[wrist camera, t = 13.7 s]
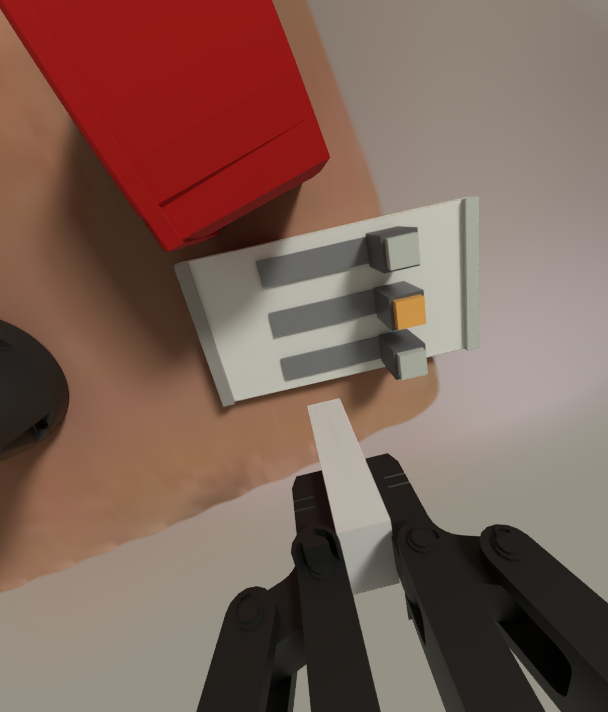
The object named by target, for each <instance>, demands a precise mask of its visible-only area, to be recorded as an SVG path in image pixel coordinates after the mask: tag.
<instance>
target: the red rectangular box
mask: <svg viewBox="0 0 608 712" xmlns="http://www.w3.org/2000/svg"><path fill="white" fill-rule="evenodd" d="M0 9H1V10H2V12H3V14H4V15H5V17H6V18H7V20H8V21H9V23H10V25H11V26H12V28H13V29H14V31H15V33H16V34H17V36H18V37H19V39H20V40H21V42H22V43H23V45H24V46H25V48H26V49H27V51H28V53H29V54H30V56H31V57H32V59H33V60H34V62H35V63H36V65H37V66H38V68H39V69H40V71H41V73H42V74H43V76H44V77H45V79H46V80H47V82H48V83H49V85H50V86H51V88H52V89H53V91H54V92H55V94H56V95H57V97H58V98H59V100H60V101H61V103H62V105H63V106H64V108H65V109H66V111H67V112H68V114H69V115H70V117H71V118H72V120H73V121H74V123H75V124H76V126H77V127H78V129H79V130H80V132H81V133H82V135H83V136H84V138H85V139H86V141H87V142H88V144H89V145H90V147H91V148H92V150H93V151H94V153H95V154H96V155H97V157H98V158H99V160H100V161H101V163H102V164H103V166H104V167H105V169H106V170H107V172H108V173H109V175H110V176H111V178H112V179H113V180H114V182H115V183H116V185H117V186H118V187H119V189H120V190H121V192H122V193H123V195H124V196H125V197H126V199H127V200H128V202H129V203H130V204H131V206H132V207H133V209H134V210H135V211H136V213H137V214H138V216H140V217H141V218H142V219H143V221H144V222H145V224H146V225H147V227H148V228H149V230H150V231H151V233H152V234H153V235H154V237H155V238H156V240H157V241H158V243H159V244H160V246H161V247H162V249H163V250H165V251H175V250H178V249H181V248H185V247H188V246H191V245H194V244H197V243H200V242H203V241H206V240H208V239H211V238H213V237H215V236H216V235H218V234H220V233H219V231H218V229H220V228H222V227H224V226H226V225H227V224H229V223H231V222H233V221H235V220H237V219H238V218H240V217H242V216H244V215H246V214H247V213H249V212H251V211H253V210H255V209H256V208H258V207H260V206H262V205H264V204H265V203H267V202H269V201H271V200H273V199H274V198H276V197H278V196H280V195H282V194H283V193H285V192H287V191H289V190H291V189H292V188H294V187H296V186H298V185H300V184H302V183H303V182H305V181H307V180H309V179H311V178H312V177H314V176H315V175H316V174H318V173H319V172H320V171H321V170H322V168H323V167H324V166H325V164H326V163H327V161H328V160H329V158H330V155H329V153H328V150H327V147H326V144H325V141H324V139H323V136H322V133H321V130H320V127H319V125H318V122H317V119H316V116H315V114H314V111H313V108H312V105H311V103H310V100H309V97H308V94H307V92H306V89H305V86H304V83H303V81H302V78H301V75H300V72H299V70H298V67H297V64H296V62H295V59H294V56H293V54H292V51H291V49H290V46H289V43H288V41H287V38H286V36H285V33H284V30H283V28H282V25H281V23H280V20H279V17H278V15H277V12H276V10H275V7H274V4H273V2H272V0H0Z"/></svg>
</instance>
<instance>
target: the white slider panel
mask: <svg viewBox="0 0 608 712" xmlns="http://www.w3.org/2000/svg"><path fill="white" fill-rule="evenodd" d="M173 267H174V270H175V272H176V275H177V278H178V281H179V284H180V287H181V289H182V292H183V295H184V298H185V301H186V303H187V306H188V309H189V312H190V315H191V317H192V320H193V323H194V326H195V329H196V331H197V334H198V337H199V340H200V343H201V345H202V348H203V351H204V354H205V357H206V359H207V362H208V365H209V368H210V371H211V373H212V376H213V379H214V382H215V385H216V387H217V390H218V393H219V396H220V399H221V401H222V404H223V407H225V406H229V405H233V404H235V401H239V400H243V399H248V398H252V397H256V396H261V395H265V394H269V393H274V392H278V391H282V390H287V389H291V388H296V387H300V386H304V385H309V384H313V383H317V382H322V381H326V380H330V379H335V378H339V377H343V376H348V375H352V374H356V373H361V372H365V371H370V370H374V369H378V368H383V367H387V369H388V370H389V371H390V373H391V374H392V375H393V376H394V378H395V379H396V380H398V379H402V380H405V379H409V378H414V377H418V376H422V375H427V374H428V371H427V357H430V356H435V355H439V354H444V353H448V352H452V351H456V350H461V349H466V350H467V351H468V350H473V349H477V348H479V196H474V197H465V198H460V199H455V200H451V201H447V202H442V203H438V204H433V205H429V206H425V207H420V208H416V209H411V210H407V211H403V212H398V213H394V214H390V215H385V216H381V217H376V218H372V219H367V220H363V221H359V222H354V223H350V224H346V225H341V226H337V227H332V228H328V229H324V230H319V231H315V232H310V233H306V234H302V235H297V236H293V237H288V238H284V239H280V240H275V241H271V242H266V243H262V244H258V245H253V246H249V247H245V248H240V249H236V250H231V251H227V252H223V253H218V254H214V255H209V256H205V257H201V258H196V259H192V260H187V261H183V262H180V263H177V264H175V265H173ZM401 281H405V282H407V283H410V284H412V285H414V286H416V287H418V288H420V289H423V290H424V297H425V312H426V324H423V325H419V326H414V327H410V328H406V329H401V330H396V331H391V330H390V329H389V328H388V327H387V326H386V325H385V324H384V323H383V322H382V321H381V320H379V319H378V318H377V313H376V305H375V297H374V289H373V288H375V287H379V286H383V285H388V284H392V283H397V282H401Z"/></svg>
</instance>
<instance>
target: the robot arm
mask: <svg viewBox="0 0 608 712" xmlns="http://www.w3.org/2000/svg"><path fill="white" fill-rule="evenodd" d="M68 399H69V394H68V386H67V382H66V379H65V376H64V374H63V372H62V370H61V368H60V366H59V364H58V363H57V361H56V360H55V358H54V357H53V356H52V355H51V353H50V352H49V351H48V350H47V349H46V348H45V347H44V346H43V345H42V344H41V343H39V342H38V341H37V340H36V339H35V338H33V337H32V336H31V335H29V334H28V333H26V332H24V331H23V330H21V329H19V328H17V327H16V326H14V325H11V324H9V323H7V322H4V321H2V320H0V461H2V460H5V459H7V458H9V457H11V456H14V455H16V454H18V453H20V452H22V451H25V450H27V449H29V448H31V447H33V446H34V445H36V444H37V443H39V442H40V441H42V440H43V439H44V438H45V437H46V436H47V435H48V434H49V433H50V432H51V431H52V430H53V429H55V428H56V427H57V425H58V424H59V423H60V422H61V420H62V419H63V417H64V415H65V413H66V410H67V406H68ZM307 407H308V411H309V415H310V420H311V424H312V429H313V433H314V437H315V442H316V446H317V450H318V455H319V459H320V464H321V468H322V470H321V471H318V472H313V473H309V474H305V475H301V476H297V477H296V479H295V482H294V485H293V487H292V493H293V501H294V511H295V521H296V531H297V535H296V537H295V539H294V541H293V543H292V548H291V554H292V557H293V560H294V563H295V567H294V569H293V571H292V572H291V573H290V574H289V576H288V577H286V578H285V579H284V580H283V581H281V582H280V583H278V584H277V585H275V586H274V587H272V588H271V589H269V590H266V589H265V588H262V587H257V586H255V587H250V588H247V589H245V590H243V591H242V592H241V593H239V594H238V595H237V596H236V597H235V598H234V599H233V601H232V602H231V603H230V605H229V607H228V610H227V612H226V614H225V617H224V621H223V624H222V628H221V631H220V634H219V638H218V641H217V644H216V648H215V651H214V654H213V658H212V661H211V664H210V668H209V671H208V675H207V678H206V681H205V685H204V688H203V691H202V695H201V698H200V701H199V705H198V708H197V712H293V706H294V697H295V688H296V679H297V671H298V670H299V669H300V668H302V667H303V666H305V665H306V664H307V674H308V685H309V695H310V705H311V712H381V711H380V707H379V702H378V698H377V694H376V690H375V686H374V682H373V678H372V673H371V669H370V665H369V660H368V656H367V652H366V648H365V644H364V640H363V636H362V631H361V627H360V623H359V619H358V614H357V610H356V606H355V602H354V597H353V595H354V594H358V593H362V592H366V591H369V590H374V589H377V588H382V587H386V586H390V585H394V584H397V583H400V582H399V578H400V580H401V583H402V586H403V588H404V591H405V598H406V605H407V612H408V618H409V620H410V619H412V620H413V622H414V625H415V628H416V631H417V634H418V636H419V639H420V642H421V645H422V647H423V650H424V653H425V655H426V658H427V661H428V664H429V666H430V669H431V672H432V675H433V677H434V680H435V683H436V686H437V688H438V691H439V694H440V696H441V699H442V702H443V705H444V707H445V710H446V712H545V710H544V708H543V707H542V705H541V703H540V701H539V700H538V698H537V696H536V695H535V693H534V691H533V689H532V687H531V686H530V684H529V682H528V680H527V678H526V677H525V675H524V673H523V672H522V670H521V668H520V667H519V664H518V663H517V661H516V659H515V657H514V656H513V654H512V652H511V650H512V651H513V653H514V654H515V655H516V656H517V658H518V659H519V660H520V661H521V663H522V664H523V665H524V666H525V667H526V669H527V670H528V671H529V672H530V674H531V675H532V676H533V677H534V679H535V680H536V681H537V682H538V684H539V685H540V686H541V687H542V688H543V690H544V691H545V692H546V693H547V695H548V696H549V697H550V699H551V700H552V701H553V702H554V704H555V705H556V706H557V707H558V708H559V710H560V711H561V712H608V603H607V602H606V601H604V600H603V599H602V598H601V597H600V596H599V595H597V594H596V593H595V592H594V591H593V590H592V589H590V588H589V587H588V586H587V585H586V584H585V583H583V582H582V581H581V580H580V579H579V578H578V577H576V576H575V575H574V574H573V573H572V572H570V571H569V570H568V569H567V568H566V567H565V566H563V565H562V564H561V563H560V562H559V561H558V560H556V559H555V558H554V557H553V556H552V555H551V554H549V553H548V552H547V551H546V550H545V549H543V548H542V547H541V546H540V545H539V544H538V543H536V542H535V541H534V540H533V539H532V538H530V537H529V536H528V535H527V534H525V533H524V532H522V531H521V530H519V529H517V528H514V527H511V526H508V525H499V524H496V525H492V526H489V527H487V528H486V529H485V530H483V531H482V533H481V536H464V535H456V534H452V533H449V532H446V531H444V530H442V529H441V528H439V527H438V526H436V525H435V524H434V523H433V522H432V521H431V519H430V518H429V516H428V515H427V513H426V511H425V509H424V507H423V506H422V504H421V502H420V500H419V499H418V497H417V495H416V493H415V491H414V489H413V487H412V486H411V484H410V483H409V480H408V478H407V477H406V475H405V474H404V471H403V469H402V468H401V466H400V464H399V462H398V461H397V460H395V459H394V458H393V457H392V456H390V455H389V454H388V453H387V454H383V455H379V456H375V457H370V458H367V459H365V458H364V455H363V453H362V451H361V448H360V446H359V443H358V441H357V439H356V436H355V434H354V431H353V429H352V427H351V424H350V422H349V419H348V417H347V415H346V412H345V410H344V408H343V405H342V403H341V400H340V398H338V399H334V400H330V401H326V402H322V403H318V404H314V405H310V406H307ZM508 646H509V647H508ZM510 649H511V650H510Z"/></svg>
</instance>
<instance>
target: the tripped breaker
mask: <svg viewBox="0 0 608 712" xmlns="http://www.w3.org/2000/svg"><path fill="white" fill-rule="evenodd" d="M373 289H374V297H375V305H376V313H377V318H378V319H379V320H381V321H382V322H383V323H384V324H385V325H386V326H387V327H388V328H389V329H390V330H391V331H396V330H401V329H406V328H410V327H414V326H419V325H423V324H426V312H425V297H424V290H423V289H420V288H418V287H416V286H414V285H412V284H410V283H407V282H405V281H401V282H397V283H392V284H388V285H383V286H379V287H375V288H373Z"/></svg>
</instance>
